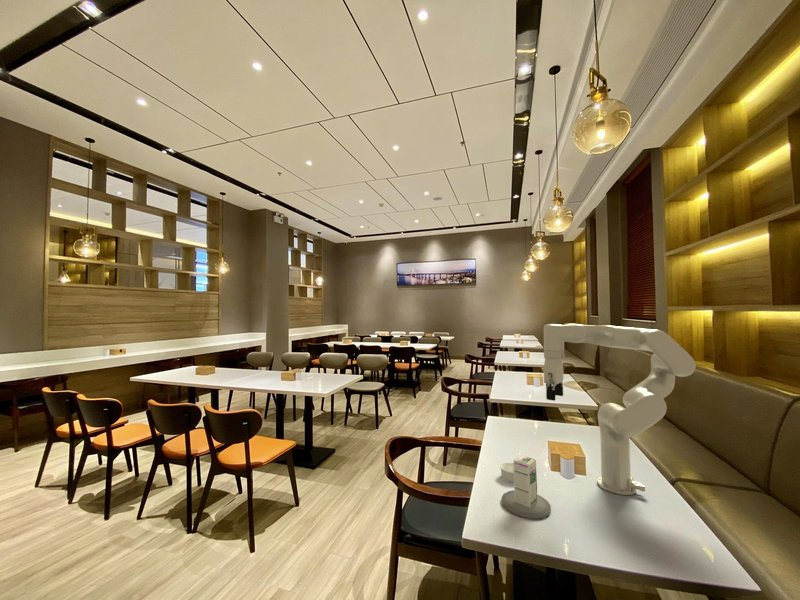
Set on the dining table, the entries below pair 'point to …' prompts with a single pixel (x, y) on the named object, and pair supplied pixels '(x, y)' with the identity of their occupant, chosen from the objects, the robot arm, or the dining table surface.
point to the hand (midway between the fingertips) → (555, 397)
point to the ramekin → (507, 471)
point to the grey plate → (534, 513)
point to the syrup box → (525, 481)
